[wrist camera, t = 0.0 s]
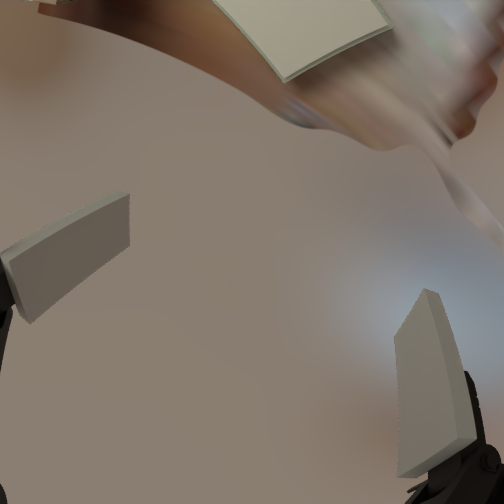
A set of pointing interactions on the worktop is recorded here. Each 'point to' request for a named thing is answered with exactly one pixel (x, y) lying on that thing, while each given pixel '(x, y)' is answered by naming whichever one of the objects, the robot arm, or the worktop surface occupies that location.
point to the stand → (304, 29)
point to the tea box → (52, 1)
